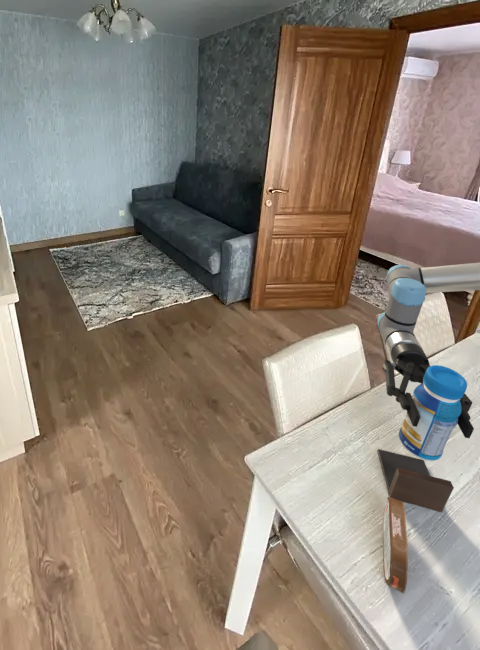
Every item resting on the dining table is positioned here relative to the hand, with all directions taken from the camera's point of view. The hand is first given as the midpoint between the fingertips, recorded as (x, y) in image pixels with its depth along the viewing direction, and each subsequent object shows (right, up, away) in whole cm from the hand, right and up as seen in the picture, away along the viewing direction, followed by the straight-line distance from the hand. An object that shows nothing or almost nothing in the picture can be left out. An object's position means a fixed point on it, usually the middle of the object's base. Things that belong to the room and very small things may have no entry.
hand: (442, 427), depth 69 cm
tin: (-12, -24, -2) cm, 27 cm away
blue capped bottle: (+1, -9, +8) cm, 12 cm away
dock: (+1, -18, +12) cm, 21 cm away
